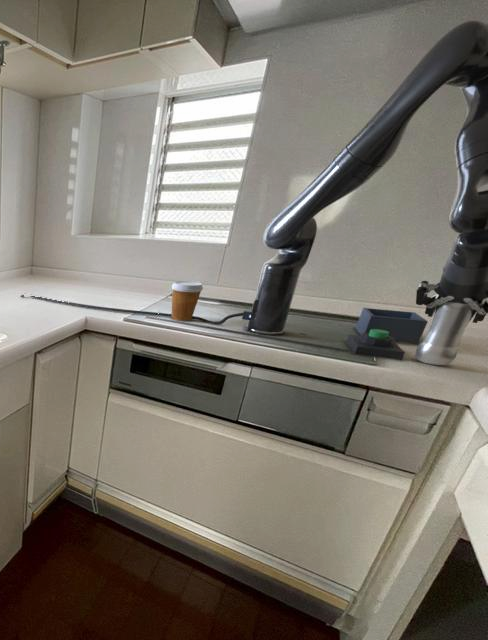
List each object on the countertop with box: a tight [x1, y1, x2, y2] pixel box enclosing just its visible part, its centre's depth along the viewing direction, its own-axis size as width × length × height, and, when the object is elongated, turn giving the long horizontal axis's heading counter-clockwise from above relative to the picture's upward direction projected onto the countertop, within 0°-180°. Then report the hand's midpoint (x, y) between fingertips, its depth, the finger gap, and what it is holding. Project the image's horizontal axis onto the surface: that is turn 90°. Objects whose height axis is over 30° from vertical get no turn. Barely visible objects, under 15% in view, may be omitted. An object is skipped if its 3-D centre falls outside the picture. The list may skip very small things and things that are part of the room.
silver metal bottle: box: [414, 301, 477, 366], centre depth 93 cm, size 6×7×20 cm
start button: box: [368, 329, 389, 339], centre depth 104 cm, size 4×4×2 cm
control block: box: [346, 333, 406, 361], centre depth 105 cm, size 9×12×4 cm
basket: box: [355, 307, 429, 345], centre depth 117 cm, size 12×12×7 cm
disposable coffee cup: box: [170, 280, 204, 322], centre depth 135 cm, size 10×10×12 cm
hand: (452, 316), depth 94 cm, fingers closed on silver metal bottle, 6 cm apart
